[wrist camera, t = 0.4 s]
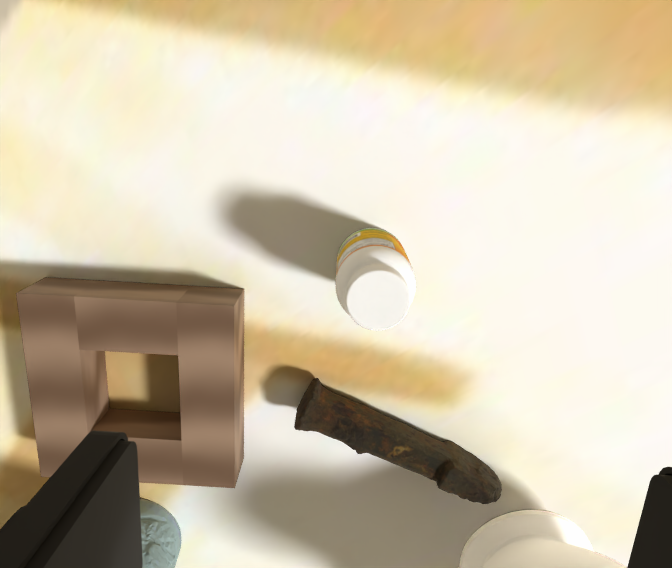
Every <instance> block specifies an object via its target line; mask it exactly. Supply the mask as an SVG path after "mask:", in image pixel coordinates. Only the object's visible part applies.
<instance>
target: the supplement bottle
mask: <svg viewBox="0 0 672 568" xmlns="http://www.w3.org/2000/svg"><path fill="white" fill-rule="evenodd" d="M415 291H416V279H415V274H414V271H413V268H412V266H411V264H410V262H409V259H408V257H407V255H406V253H405V251H404V249H403V247H402V245H401V243H400V242H399V241H398V239H397V238H396V237H395V236H393V235H392V234H391V233H389V232H387V231H385V230H382V229H377V228H365V229H361V230H359V231H356V232H354V233H353V234H351V235H350V236H349V237H347V238H346V240H345V241H344V242H343V243H342V245H341V247H340V249H339V252H338V255H337V265H336V293H337V297H338V300H339V302H340V304H341V306H342V308H343V309H344V310H345V311H346V312H347V313H348V314H349V315H350V316H351V318H352V319H353V320H354V321H355V322H356V323H357V324H358V325H360V326H362V327H364V328H366V329H370V330H386V329H389V328H392V327H394V326H395V325H397V324H398V323H399V322H401V321H402V319H403V318H404V317H405V316H406V314H407V312H408V310H409V306H410V305H411V303H412V301H413V298H414V295H415Z"/></svg>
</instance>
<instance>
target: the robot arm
mask: <svg viewBox="0 0 672 568" xmlns="http://www.w3.org/2000/svg"><path fill="white" fill-rule="evenodd" d="M142 565H143V558H142V537H141V516H140V496H139V475H138V454H137V445H136V442H134V441H128V437H127V435H126V434H125V433H124V432H111V431H95V430H94V431H91V432H90V433H88V434H87V436H86V437H85V438H84V439H83V440H82V441H81V442H80V444H79V445H78V446H77V447H76V448H75V449H74V451H73V452H72V453H71V454H70V455H69V456H68V458H67V459H66V460H65V461H64V462H63V463H62V465H61V466H60V467H59V468H58V469H57V470H56V471H55V473H54V474H53V475H52V476H51V477H50V478H49V480H48V481H47V482H46V483H45V484H44V485H43V487H42V488H41V489H40V490H39V491H38V492H37V494H36V495H35V496H34V497H33V498H32V499H31V500H30V502H29V503H28V504H27V505H26V506H23V507H21V508H20V509H19V510H18V511H17V512H16V513H14V514H13V516H12V517H11V518H10V519H9V520H8V521H7V522H6V524H5V525H4V526H3V527H2V528H1V529H0V568H142ZM627 568H672V467H666V468H663V469H662V470H661V471H660V473H659V475H654V476H653V477H652V478H651V481H650V484H649V488H648V491H647V495H646V499H645V503H644V507H643V510H642V514H641V518H640V522H639V526H638V529H637V533H636V537H635V541H634V545H633V548H632V552H631V556H630V560H629V564H628V567H627Z"/></svg>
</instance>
